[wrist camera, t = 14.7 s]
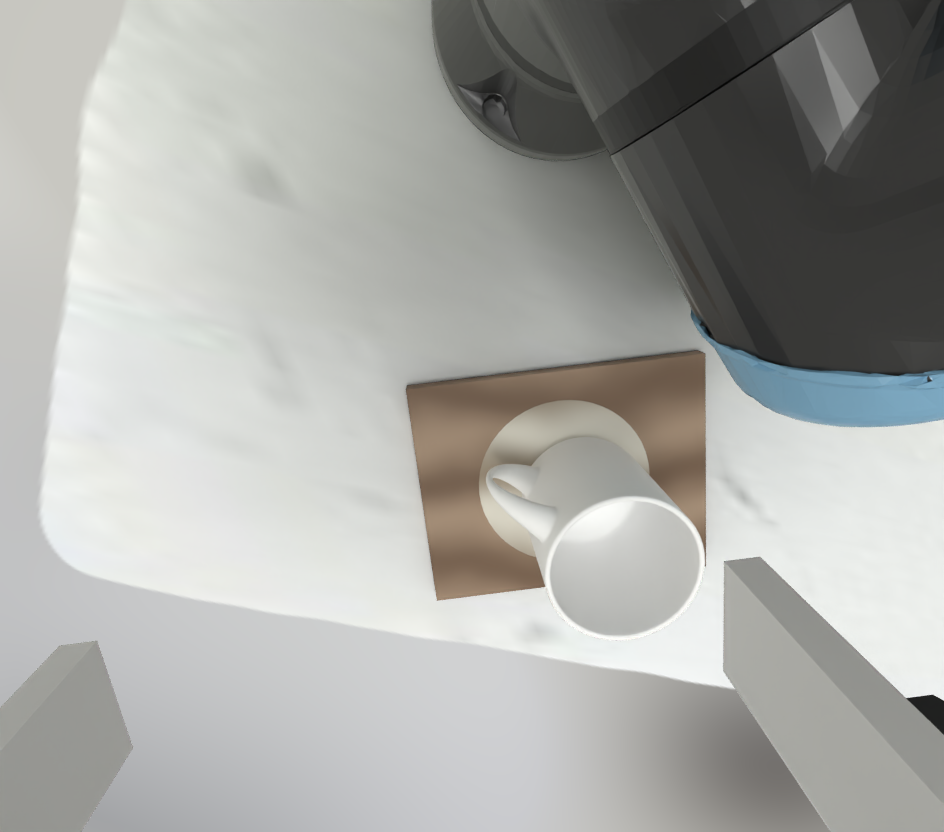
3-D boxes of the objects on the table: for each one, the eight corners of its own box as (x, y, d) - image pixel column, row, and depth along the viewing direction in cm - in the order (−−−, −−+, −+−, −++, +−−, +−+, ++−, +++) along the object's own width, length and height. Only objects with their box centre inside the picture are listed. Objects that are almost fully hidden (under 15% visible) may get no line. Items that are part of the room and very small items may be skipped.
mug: (508, 393, 39) (533, 444, 29) (662, 462, 41) (736, 533, 31) (454, 502, 41) (459, 586, 31) (604, 563, 43) (655, 662, 33)
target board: (406, 385, 40) (405, 389, 39) (697, 350, 41) (705, 353, 39) (437, 591, 45) (436, 600, 43) (699, 558, 45) (706, 566, 44)
